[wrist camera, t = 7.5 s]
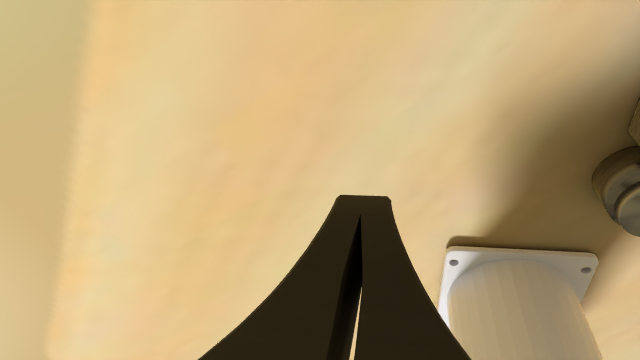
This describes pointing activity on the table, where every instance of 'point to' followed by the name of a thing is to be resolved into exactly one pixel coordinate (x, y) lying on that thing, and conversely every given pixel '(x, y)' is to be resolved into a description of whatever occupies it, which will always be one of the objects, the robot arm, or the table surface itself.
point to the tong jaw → (630, 190)
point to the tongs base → (616, 177)
